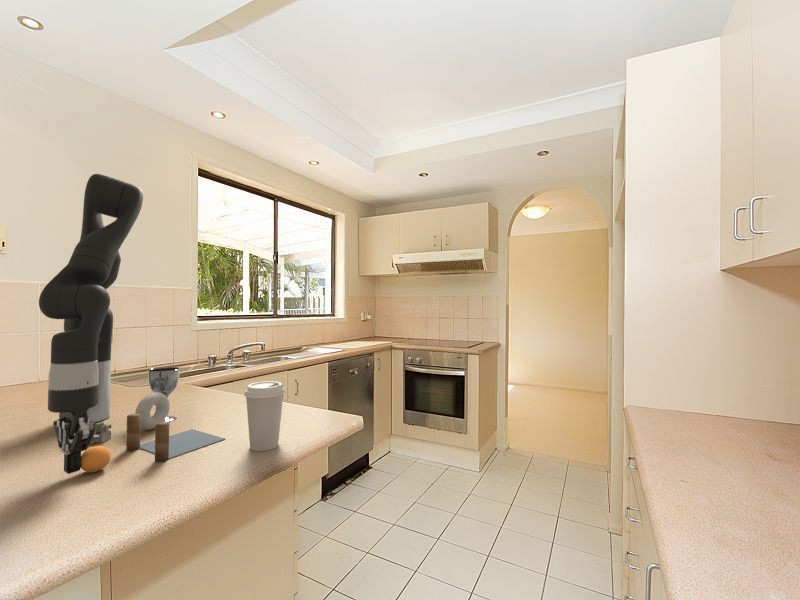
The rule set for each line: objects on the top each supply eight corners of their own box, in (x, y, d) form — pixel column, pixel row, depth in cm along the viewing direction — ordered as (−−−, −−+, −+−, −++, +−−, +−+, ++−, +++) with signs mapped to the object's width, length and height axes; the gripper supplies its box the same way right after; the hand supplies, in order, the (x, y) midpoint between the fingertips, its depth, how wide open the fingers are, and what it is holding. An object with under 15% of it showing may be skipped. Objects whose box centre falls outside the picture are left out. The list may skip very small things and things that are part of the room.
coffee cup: (260, 457, 84) (261, 391, 84) (234, 448, 89) (235, 385, 89) (292, 444, 92) (293, 383, 92) (267, 436, 97) (268, 379, 97)
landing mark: (135, 446, 89) (135, 445, 89) (192, 429, 101) (192, 429, 101) (168, 459, 82) (168, 458, 82) (225, 439, 95) (225, 438, 95)
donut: (142, 435, 97) (143, 397, 97) (131, 434, 97) (131, 396, 97) (172, 423, 106) (173, 388, 107) (162, 422, 107) (162, 388, 107)
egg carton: (112, 442, 93) (113, 425, 93) (73, 450, 88) (73, 432, 88) (106, 431, 100) (106, 416, 100) (69, 438, 95) (69, 422, 95)
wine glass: (140, 421, 108) (141, 370, 108) (166, 414, 115) (167, 366, 115) (159, 425, 105) (160, 372, 105) (184, 417, 112) (185, 367, 112)
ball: (74, 473, 75) (74, 448, 75) (103, 463, 80) (103, 440, 80) (85, 478, 73) (86, 453, 73) (115, 469, 77) (115, 445, 77)
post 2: (152, 460, 81) (152, 424, 81) (164, 456, 84) (165, 421, 84) (158, 463, 80) (159, 426, 80) (171, 459, 82) (171, 423, 82)
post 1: (124, 449, 87) (124, 415, 87) (136, 446, 90) (136, 412, 90) (129, 451, 86) (130, 417, 86) (142, 448, 88) (142, 414, 88)
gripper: (111, 385, 73) (109, 472, 73) (83, 377, 80) (81, 457, 80) (62, 392, 67) (60, 488, 67) (36, 383, 74) (34, 470, 74)
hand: (72, 471), depth 74 cm, fingers closed
